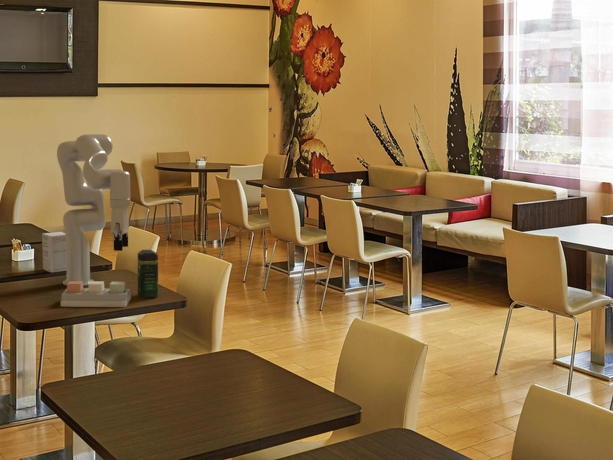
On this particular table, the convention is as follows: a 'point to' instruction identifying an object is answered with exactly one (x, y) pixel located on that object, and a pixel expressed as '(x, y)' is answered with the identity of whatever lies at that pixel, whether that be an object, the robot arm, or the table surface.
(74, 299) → the keypad
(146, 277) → the coffee jar
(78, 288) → the terracotta key
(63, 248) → the supplement box
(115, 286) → the sage key
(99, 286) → the cream key
